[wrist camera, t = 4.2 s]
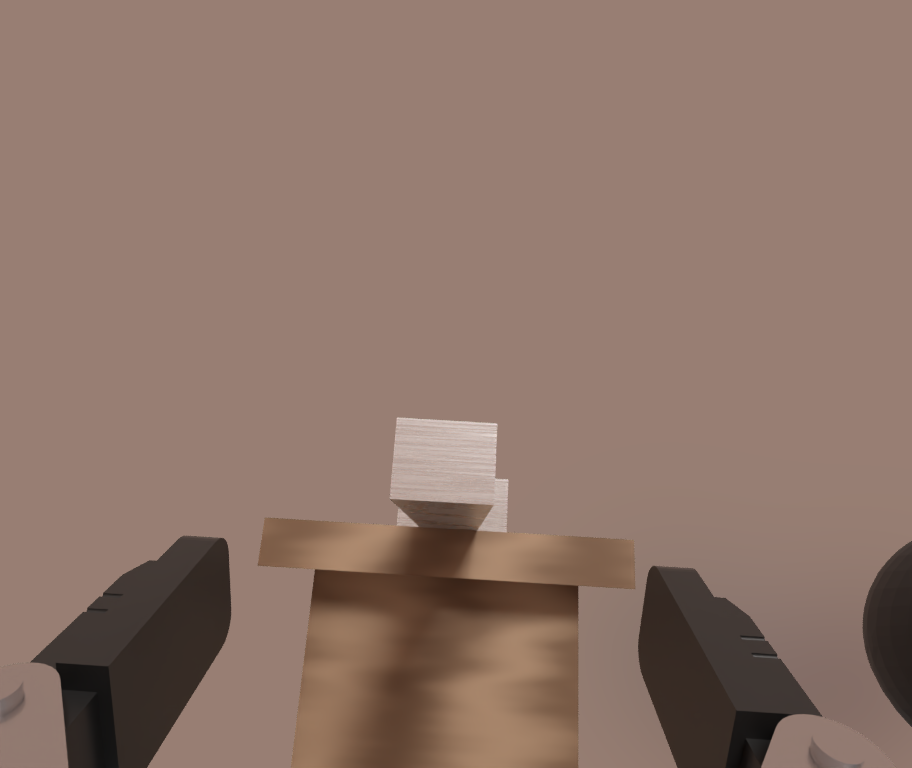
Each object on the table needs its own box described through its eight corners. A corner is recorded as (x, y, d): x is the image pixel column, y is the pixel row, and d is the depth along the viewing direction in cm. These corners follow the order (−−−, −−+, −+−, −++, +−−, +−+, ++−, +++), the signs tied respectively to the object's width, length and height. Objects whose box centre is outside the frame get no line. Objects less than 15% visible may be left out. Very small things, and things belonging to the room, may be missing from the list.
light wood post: (498, 545, 44) (500, 491, 45) (588, 510, 14) (587, 352, 15) (405, 539, 44) (409, 486, 46) (296, 493, 14) (317, 337, 15)
